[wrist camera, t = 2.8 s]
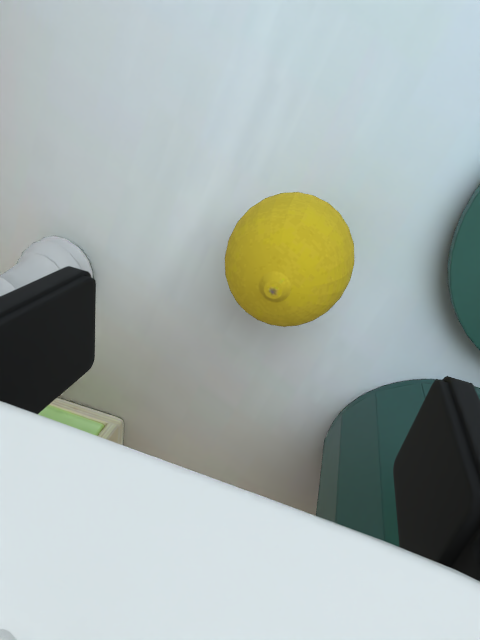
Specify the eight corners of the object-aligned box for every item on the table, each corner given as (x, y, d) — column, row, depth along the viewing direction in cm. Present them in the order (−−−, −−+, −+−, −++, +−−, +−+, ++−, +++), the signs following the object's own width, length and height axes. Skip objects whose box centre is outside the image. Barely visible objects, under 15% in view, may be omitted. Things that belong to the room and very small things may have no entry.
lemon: (230, 235, 22) (172, 286, 15) (302, 157, 20) (270, 175, 13) (300, 304, 23) (274, 382, 16) (378, 237, 20) (388, 296, 13)
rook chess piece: (59, 307, 28) (-42, 369, 21) (24, 246, 26) (-97, 291, 19) (109, 289, 26) (18, 350, 19) (74, 223, 25) (-38, 263, 18)
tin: (383, 343, 23) (400, 503, 13) (600, 441, 22) (784, 686, 12) (294, 480, 29) (262, 656, 19) (460, 560, 28) (512, 786, 19)
